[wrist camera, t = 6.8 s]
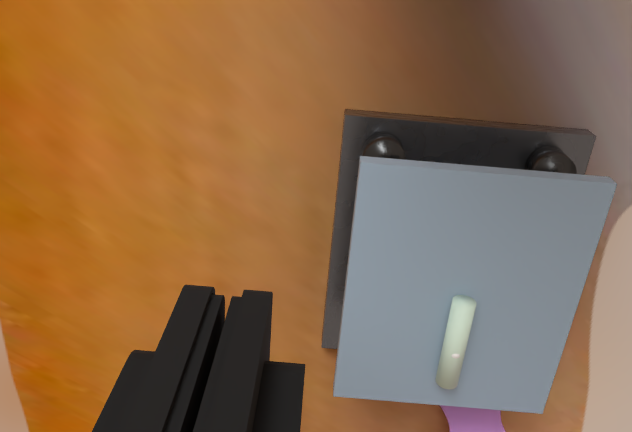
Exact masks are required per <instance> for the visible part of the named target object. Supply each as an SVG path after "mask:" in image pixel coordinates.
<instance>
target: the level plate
mask: <svg viewBox="0 0 632 432" xmlns="http://www.w3.org/2000/svg"><path fill="white" fill-rule="evenodd" d="M616 186H617V183H616V182H614V181H613V180H612V179H611V178H610V177H605V176H593V175H581V174H569V173H558V172H546V171H534V170H522V169H510V168H498V167H486V166H475V165H463V164H451V163H439V162H427V161H415V160H403V159H391V158H380V157H368V156H360V160H359V169H358V178H357V186H356V195H355V203H354V212H353V221H352V229H351V238H350V247H349V255H348V264H347V273H346V281H345V290H344V298H343V307H342V316H341V324H340V333H339V342H338V350H337V359H336V368H335V376H334V385H333V396H335V397H347V398H359V399H371V400H383V401H395V402H407V403H419V404H431V405H443V406H455V407H467V408H479V409H491V410H503V411H515V412H527V413H539V414H543V410H544V407H545V404H546V401H547V398H548V395H549V392H550V389H551V386H552V383H553V380H554V377H555V374H556V371H557V367H558V364H559V361H560V358H561V355H562V352H563V349H564V346H565V343H566V340H567V337H568V334H569V331H570V328H571V324H572V321H573V318H574V315H575V312H576V309H577V306H578V303H579V300H580V297H581V294H582V291H583V288H584V285H585V282H586V278H587V275H588V272H589V269H590V266H591V263H592V260H593V257H594V254H595V251H596V248H597V245H598V242H599V239H600V235H601V232H602V229H603V226H604V223H605V220H606V217H607V214H608V211H609V208H610V205H611V202H612V199H613V196H614V192H615V189H616Z"/></svg>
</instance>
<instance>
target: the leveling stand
mask: <svg viewBox="0 0 632 432" xmlns="http://www.w3.org/2000/svg"><path fill="white" fill-rule="evenodd" d="M595 139H596V136H595V135H594V134H593V133H592V132H590V131H589V130H586V129H575V128H563V127H551V126H539V125H527V124H515V123H504V122H492V121H480V120H468V119H456V118H444V117H433V116H421V115H409V114H397V113H385V112H373V111H361V110H350V109H345V114H344V124H343V134H342V144H341V154H340V163H339V173H338V183H337V193H336V203H335V213H334V223H333V233H332V243H331V253H330V263H329V272H328V282H327V292H326V302H325V312H324V322H323V332H322V348H332V349H338V342H339V333H340V324H341V316H342V307H343V298H344V290H345V281H346V273H347V264H348V255H349V247H350V238H351V229H352V221H353V212H354V203H355V195H356V186H357V178H358V169H359V160H360V156H368V157H380V158H391V159H403V160H415V161H427V162H439V163H451V164H463V165H475V166H486V167H498V168H510V169H522V170H534V171H546V172H558V173H569V174H581V175H585V171H586V168H587V165H588V162H589V158H590V155H591V152H592V148H593V145H594V142H595Z"/></svg>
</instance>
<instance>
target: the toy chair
mask: <svg viewBox="0 0 632 432" xmlns="http://www.w3.org/2000/svg"><path fill="white" fill-rule="evenodd" d="M440 407H441V409H442V410H443V412H444V414H445V416H446V418H447V421H448V424H449V429H450V432H506V431H505V430H504V427H503V425H502V422H501V410H491V409H479V408H467V407H455V406H443V405H440Z"/></svg>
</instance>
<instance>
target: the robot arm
mask: <svg viewBox="0 0 632 432" xmlns="http://www.w3.org/2000/svg"><path fill="white" fill-rule="evenodd" d="M272 298H273V293H272V292H266V291H254V290H244V291H243V295H242V297H236V296H232V298H231V301H230V305H229V308H228V312H227V315H226V319H225V298H224V295H215V289H214V287H207V286H195V285H184V287H183V289H182V291H181V293H180V296H179V298H178V300H177V303H176V305H175V307H174V310H173V312H172V314H171V317H170V319H169V321H168V324H167V326H166V328H165V330H164V333H163V335H162V337H161V340H160V342H159V344H158V347H157V349H156V351H155V352H153V351H141V350H134V351H133V352H131V354H130V355H129V357H128V359H127V361H126V363H125V365H124V367H123V369H122V371H121V373H120V375H119V377H118V379H117V381H116V383H115V385H114V387H113V389H112V392H111V394H110V396H109V398H108V400H107V402H106V404H105V406H104V408H103V410H102V412H101V414H100V416H99V418H98V420H97V422H96V424H95V426H94V428H93V430H92V432H300V425H301V412H302V399H303V386H304V374H305V364H297V363H285V362H273V361H269V357H270V338H271V319H272Z"/></svg>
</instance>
